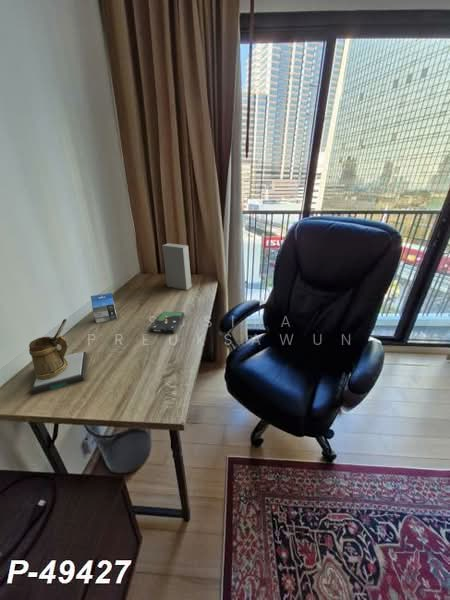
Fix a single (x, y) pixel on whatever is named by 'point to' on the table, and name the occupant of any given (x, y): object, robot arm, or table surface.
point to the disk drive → (167, 322)
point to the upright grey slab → (177, 266)
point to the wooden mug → (49, 355)
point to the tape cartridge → (103, 307)
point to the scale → (64, 374)
